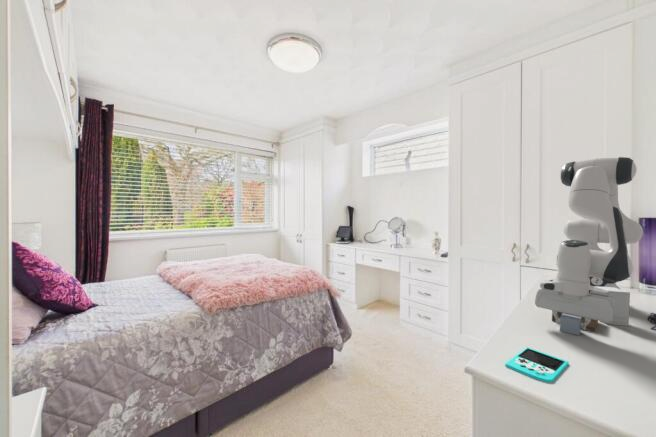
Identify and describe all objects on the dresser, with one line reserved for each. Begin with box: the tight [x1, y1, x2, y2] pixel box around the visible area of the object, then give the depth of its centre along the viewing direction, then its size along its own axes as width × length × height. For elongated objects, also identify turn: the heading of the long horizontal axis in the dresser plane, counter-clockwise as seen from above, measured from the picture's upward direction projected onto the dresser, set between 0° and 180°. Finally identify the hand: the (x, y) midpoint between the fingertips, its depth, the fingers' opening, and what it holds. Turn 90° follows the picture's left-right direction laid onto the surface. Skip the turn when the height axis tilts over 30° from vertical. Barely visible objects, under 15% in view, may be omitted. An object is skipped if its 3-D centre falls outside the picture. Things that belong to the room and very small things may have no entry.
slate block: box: [559, 313, 582, 336], centre depth 97 cm, size 5×5×5 cm
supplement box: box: [594, 286, 631, 327], centre depth 106 cm, size 7×7×13 cm
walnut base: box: [551, 312, 599, 332], centre depth 105 cm, size 12×12×4 cm
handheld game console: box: [504, 347, 570, 383], centre depth 75 cm, size 10×16×1 cm, turn 126°
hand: (570, 326), depth 97 cm, fingers closed on slate block, 5 cm apart
